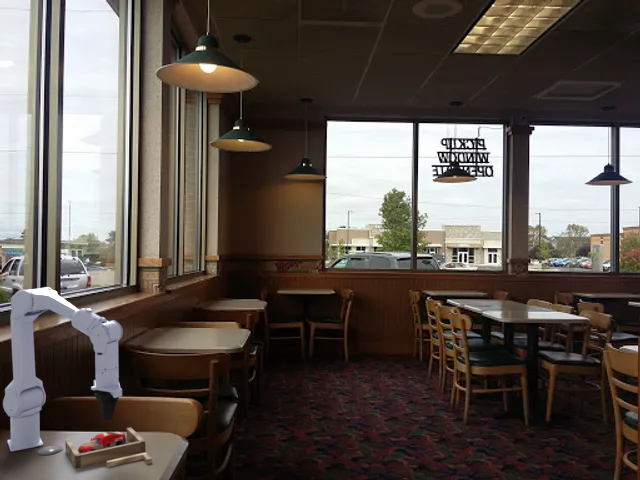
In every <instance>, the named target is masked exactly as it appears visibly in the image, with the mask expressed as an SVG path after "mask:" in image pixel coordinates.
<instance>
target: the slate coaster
mask: <svg viewBox="0 0 640 480" xmlns="http://www.w3.org/2000/svg"><path fill="white" fill-rule="evenodd" d="M63 449H64V448H63V446H61V445H49V446H45V447H41V448H40V449H39V450H37V454H38V455H40V456H49V455H54V454H55V455H56V454H57V453H60V452H61V451H63Z"/></svg>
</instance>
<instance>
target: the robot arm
mask: <svg viewBox="0 0 640 480" xmlns="http://www.w3.org/2000/svg"><path fill="white" fill-rule="evenodd" d="M10 309H11V310H10V318H9V319H10V335H11V357H12V374H13V375H12V376H13V379H12V380H11V382H10V383H9V384H8V385H7V386H6V387H5V389H4V394H5V395H4V398H3V400H2V406H3V407H2V408H3V409H4V412H5V413H6V415H7V416H8V417H10V420H9V421H10V439H7V445H8V449H9V451H10V452H16V451H21V450H26V449H32V448H36V447H42V446H44V442H43V440H42V439H41V437H40V436H41V433H40V432H41V431H40V422H41V421H40V419H41V418H40V411H41V410H42V406H44V405H45V403H46V401H47V400H46V398H47V395H46V391H45V389H44V385H43V381H42V380H41V379H40V378H38V377H37V376H36V361H35V343H34V341H35V338H34V323H33V322H34V321H35V320H36V319H37V318H38V317H39V316H40V315H41V314H43V313H44V312H47V311H49V310H50V311H52V312H54V313H55V314H57V315H60V316H62V317H64V318H65V319H68V320H70V321H71V325H72V327H73V328H74V329H76V330H77V331H80V332H81V333H83V334H84V335H86V336H88V337H89V339H90V343H92V345H93V351H94V352H95V354H94V355H95V356H94V359H95V360H94V362H95V363H94V364H95V365H94V366H95V369H94V370H95V373H94V374H95V379H94V380H93V386H90V390H92V391H98V392H95V393H94V394H93V396H94V397H95V399H96V401H97V403H98V406H99V409H100V413H101V417H102V420H103V421H109V420H113V418H114V414H115V410H116V405H117V403H118V401H119V398H122V397H123V389H122V388H121V385H120V381H119V377H120V376H119V373H120V372H119V371H120V370H119V365H120V364H119V341H120V340H122V337H123V334H124V330H123V327H122V325H121V324H120V323H119V322H118V321H117V320H113V319H112V320H107V319H106V318H105V317H104V316H100V315H98V314H97V313H95V312H94V311H93V309H92V308H88V307H87V308H83V307H82V308H81V309H80V308H77V307H76V306H75V305H73V304H72V303H71V302H69V301H67V300H66V299H65V298H63V297H62V296H60V295H59V294H58V291H56V290H53V289H52V288H51V287H49V286H48V287H47V286H44V287H41V288H32V289H31V288H30V289H19V290H18V291H16V292H15V293H14V294H13V295H12V297H11V298H10Z"/></svg>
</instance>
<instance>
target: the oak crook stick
mask: <svg viewBox="0 0 640 480" xmlns="http://www.w3.org/2000/svg"><path fill="white" fill-rule="evenodd" d="M139 460H143V461H144V462H145V463H146V464H147V465H150V464H153V458H152V457H151V455H149V454H148V453H147V452H146V451H145V453H140V454H136V455H131V456H127V457H122V458H118V459H113V460H109V461H106V462H105V465H106V467H107V468H109V467H114V466H119V465H122V464H127V463H132V462H137V461H139Z"/></svg>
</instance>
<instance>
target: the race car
mask: <svg viewBox="0 0 640 480" xmlns="http://www.w3.org/2000/svg"><path fill="white" fill-rule="evenodd" d="M126 443H127V436H126V435H125V433H123V432H120V431H115V432H113V431H108V432H107V431H106V432H101V433H99V434H97V435H95V436H94V437H93V438H92V437H91V438H90V440H88V441H86V442H85V443H82V444H81V445H79V446H78V449H77V450H78V452H79V453H80V454H81V453H86V452H90V451H95V450H100V449H104V448H109V447H114V446H119V445H123V444H126Z"/></svg>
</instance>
